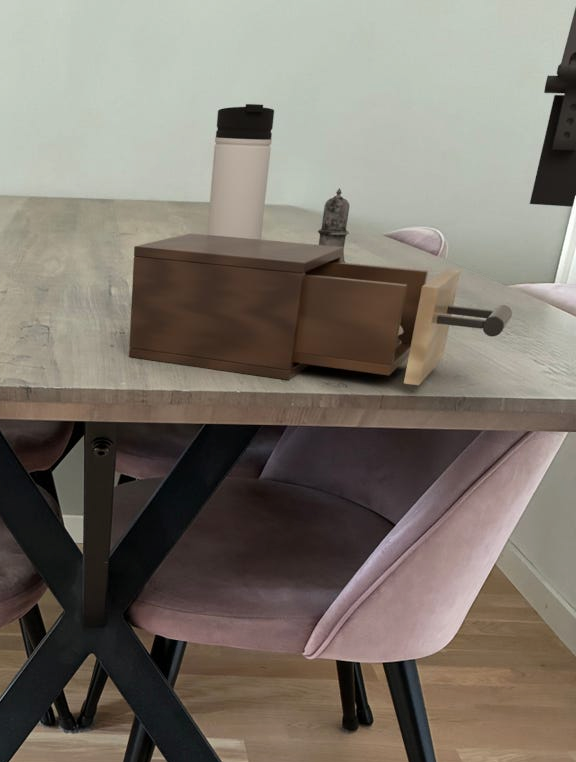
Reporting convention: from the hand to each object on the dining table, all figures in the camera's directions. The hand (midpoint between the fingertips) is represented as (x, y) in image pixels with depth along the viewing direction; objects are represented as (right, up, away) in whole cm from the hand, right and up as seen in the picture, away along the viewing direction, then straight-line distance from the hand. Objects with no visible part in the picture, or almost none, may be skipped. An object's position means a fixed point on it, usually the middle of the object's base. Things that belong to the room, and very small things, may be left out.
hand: (557, 200), depth 70 cm
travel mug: (-18, +9, +44) cm, 48 cm away
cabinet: (-22, -7, +16) cm, 28 cm away
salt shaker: (-7, +9, +45) cm, 46 cm away
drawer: (-10, -9, +11) cm, 17 cm away
